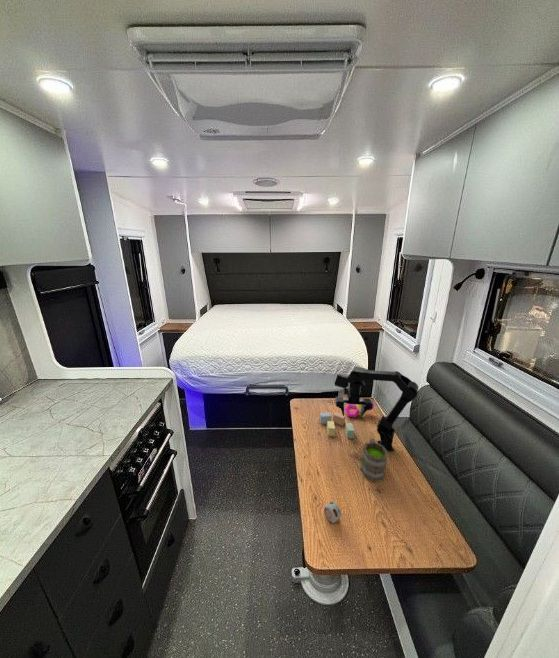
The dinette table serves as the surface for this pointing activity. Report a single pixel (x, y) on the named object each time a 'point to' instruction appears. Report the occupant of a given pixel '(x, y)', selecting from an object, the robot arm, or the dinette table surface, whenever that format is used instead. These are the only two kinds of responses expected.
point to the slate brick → (325, 417)
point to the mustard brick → (330, 428)
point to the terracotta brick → (339, 418)
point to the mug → (374, 461)
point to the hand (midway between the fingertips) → (351, 416)
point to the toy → (357, 410)
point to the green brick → (349, 430)
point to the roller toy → (332, 512)
